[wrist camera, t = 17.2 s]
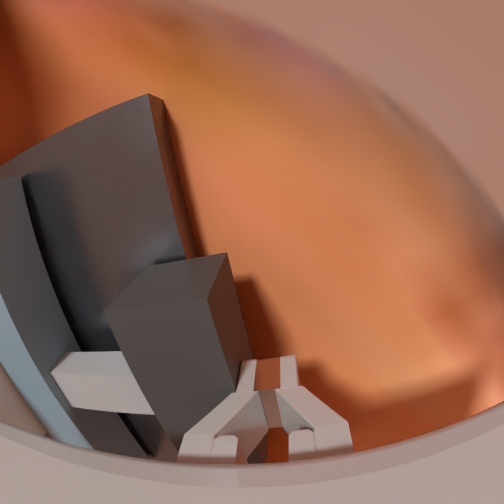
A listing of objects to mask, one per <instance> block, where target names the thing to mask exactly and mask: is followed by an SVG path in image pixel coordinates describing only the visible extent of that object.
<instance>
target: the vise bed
mask: <svg viewBox="0 0 504 504" xmlns="http://www.w3.org/2000/svg"><path fill="white" fill-rule="evenodd" d="M19 175H20V177H21V182H22V186H23V191H24V195H25V200H26V204H27V208H28V212H29V216H30V220H31V223H32V227H33V230H34V234H35V237H36V240H37V244H38V247H39V250H40V253H41V256H42V259H43V262H44V265H45V268H46V271H47V273H48V276H49V279H50V281H51V284H52V287H53V289H54V292H55V294H56V297H57V299H58V302H59V304H60V306H61V309H62V311H63V313H64V316H65V318H66V320H67V322H68V324H69V327H70V329H71V331H72V333H73V335H74V337H75V339H76V341H77V343H78V345H79V347H80V349H81V351H82V352H108V351H121V350H120V347H119V345H118V343H117V341H116V339H115V337H114V334H113V332H112V330H111V327H110V325H109V323H108V321H107V318H106V316H105V313H104V311H105V309H106V308H107V307H108V306H109V305H110V304H111V303H112V302H113V301H114V300H115V299H116V298H117V297H118V296H119V295H120V294H121V293H122V292H123V291H124V290H125V289H126V288H127V287H128V286H129V285H130V284H131V283H132V282H133V281H134V280H135V279H136V278H137V277H138V276H139V275H140V274H141V273H142V272H143V271H144V270H145V269H146V268H147V267H148V266H153V265H158V264H164V263H170V262H175V261H181V260H187V259H192V258H198V257H199V256H198V252H197V248H196V245H195V241H194V237H193V233H192V229H191V225H190V221H189V217H188V213H187V209H186V205H185V201H184V197H183V193H182V188H181V184H180V180H179V175H178V171H177V167H176V162H175V158H174V153H173V148H172V144H171V139H170V134H169V130H168V125H167V120H166V115H165V110H164V105H163V100H162V99H160V98H158V97H155V96H153V95H151V94H148V93H147V94H145V95H142V96H139V97H136V98H134V99H131V100H129V101H126V102H123V103H121V104H118V105H116V106H113V107H111V108H109V109H106V110H104V111H102V112H99V113H97V114H95V115H93V116H90V117H88V118H86V119H84V120H82V121H80V122H78V123H75V124H73V125H71V126H69V127H67V128H65V129H63V130H61V131H59V132H58V133H56V134H54V135H52V136H50V137H48V138H46V139H44V140H43V141H41V142H39V143H37V144H36V145H34V146H32V147H30V148H29V149H27V150H25V151H24V152H22V153H20V154H19V155H17V156H15V157H14V158H12V159H11V160H9V161H7V162H6V163H4V164H3V165H1V166H0V179H5V178H10V177H14V176H19ZM117 413H118V415H119V417H120V418H121V420H122V421H123V423H124V424H125V425H126V427H127V428H128V430H129V431H130V433H131V434H132V436H133V437H134V438H135V440H136V441H137V442H138V444H139V445H140V447H141V448H142V449H143V451H144V452H145V453H146V454H147V456H148V457H149V458H150V460H159V461H169V462H176V460H177V456H178V453H179V452H178V451H177V449H176V448H175V446H174V445H173V443H172V442H171V440H170V438H169V437H168V435H167V434H166V432H165V431H164V429H163V427H162V426H161V424H160V422H159V421H158V419H157V417H156V416H155V415H152V414H134V413H120V412H117ZM44 437H47V438H51V439H53V438H52V436H51V435H50V434H49V433H48V431H47V432H46V433H45V435H44Z"/></svg>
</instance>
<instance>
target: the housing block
mask: <svg viewBox="0 0 504 504" xmlns="http://www.w3.org/2000/svg"><path fill="white" fill-rule="evenodd" d="M0 420H1V421H3V422H5V423H8V424H10V425H13V426H16V427H18V428H21V429H24V430H26V431H29V432H32V433H35V434H38V435H41V436H44V435H45V433H46V432H47V430H46V429H45V428H44V426H43V425H42V424H41V422H40V421H39V420H38V419H37V417H36V416H35V414H34V413H33V412H32V410H31V409H30V408H29V406H28V405H27V403H26V402H25V400H24V399H23V397H22V396H21V395H20V393H19V391H18V390H17V388H16V387H15V385H14V384H13V382H12V381H11V379H10V377H9V376H8V374H7V372H6V371H5V369H4V367H3V366H2V364H1V362H0Z"/></svg>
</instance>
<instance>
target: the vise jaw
mask: <svg viewBox="0 0 504 504" xmlns="http://www.w3.org/2000/svg"><path fill="white" fill-rule="evenodd" d="M104 313H105V316H106V318H107V321H108V323H109V325H110V327H111V330H112V332H113V334H114V337H115V339H116V341H117V343H118V345H119V347H120V350H121V351H108V352H82V351H81V349H80V347H79V345H78V343H77V341H76V339H75V337H74V335H73V333H72V331H71V329H70V327H69V324H68V322H67V320H66V318H65V316H64V313H63V311H62V309H61V306H60V304H59V302H58V299H57V297H56V294H55V292H54V289H53V287H52V284H51V281H50V279H49V276H48V273H47V271H46V268H45V265H44V262H43V259H42V256H41V253H40V250H39V247H38V244H37V240H36V237H35V234H34V230H33V227H32V223H31V220H30V216H29V212H28V208H27V204H26V200H25V195H24V191H23V186H22V182H21V177H20V175H19V176H14V177H10V178H5V179H0V362H1V364H2V366H3V367H4V369H5V371H6V372H7V374H8V376H9V377H10V379H11V381H12V382H13V384H14V385H15V387H16V388H17V390H18V391H19V393H20V395H21V396H22V397H23V399H24V400H25V402H26V403H27V405H28V406H29V408H30V409H31V410H32V412H33V413H34V414H35V416H36V417H37V419H38V420H39V421H40V422H41V424H42V425H43V426H44V428H45V429H46V430H47V431H48V433H49V434H50V435H51V436H52V438H53V439H54V440H57V441H61V442H64V443H68V444H72V445H76V446H80V447H84V448H88V449H93V450H97V451H102V452H107V453H112V454H117V455H123V456H129V457H136V458H143V459H150V458H149V457H148V456H147V454H146V453H145V452H144V451H143V449H142V448H141V447H140V445H139V444H138V442H137V441H136V440H135V438H134V437H133V436H132V434H131V433H130V431H129V430H128V428H127V427H126V425H125V424H124V423H123V421H122V420H121V418H120V417H119V415H118V413H117V412H120V413H134V414H152V415H155V416H156V417H157V419H158V421H159V422H160V424H161V426H162V427H163V429H164V431H165V432H166V434H167V435H168V437H169V438H170V440H171V442H172V443H173V445H174V446H175V448H176V449H177V451H178V452H179V450H180V447H181V444H182V440H183V437H184V434H185V433H186V432H188V431H189V430H190V429H191V428H192V427H194V426H195V425H196V424H197V423H198V422H199V421H201V420H202V419H203V418H204V417H205V416H206V415H208V414H209V413H210V412H211V411H212V410H213V409H214V408H216V407H217V406H218V405H219V404H220V403H221V402H222V401H223V400H225V399H226V398H227V397H228V396H229V395H230V394H231V393H236V390H237V384H238V379H239V373H240V367H241V362H242V361H243V360H252V359H254V358H253V355H252V351H251V347H250V343H249V339H248V335H247V331H246V327H245V324H244V320H243V316H242V312H241V308H240V304H239V300H238V296H237V292H236V288H235V283H234V279H233V275H232V271H231V267H230V263H229V259H228V255H227V252H226V253H220V254H215V255H209V256H203V257H198V258H192V259H187V260H181V261H175V262H170V263H164V264H158V265H153V266H148V267H147V268H146V269H145V270H144V271H143V272H142V273H141V274H140V275H139V276H138V277H137V278H136V279H135V280H134V281H133V282H132V283H131V284H130V285H129V286H128V287H127V288H126V289H125V290H124V291H123V292H122V293H121V294H120V295H119V296H118V297H117V298H116V299H115V300H114V301H113V302H112V303H111V304H110V305H109V306H108V307H107V308H106V309H105V311H104ZM267 441H268V431H267V433H266V434H265V435H264V437H263V438H262V439H261V441H260V442H259V443H258V445H257V446H256V447H255V449H254V450H253V451H252V453H251V454H250V455H249V457H248V458H247V462H248V464H259V463H267Z"/></svg>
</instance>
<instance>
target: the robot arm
mask: <svg viewBox="0 0 504 504" xmlns="http://www.w3.org/2000/svg"><path fill="white" fill-rule="evenodd" d="M275 427H283V428H284V429H285V431H286V432H287V433H288V434H289V458H288V462H276V463H259V464H248V462H247V458H248V457H249V455H250V454H251V453H252V451H253V450H254V449H255V447H256V446H257V445H258V443H259V442H260V441H261V439H262V438H263V437H264V435H265V434H266V433H267V431H268V430H269V429H268V428H275ZM0 504H504V401H503V402H501V403H499V404H497V405H495V406H493V407H490V408H488V409H486V410H484V411H482V412H480V413H477V414H475V415H473V416H470V417H468V418H465V419H463V420H461V421H458V422H456V423H453V424H450V425H448V426H445V427H442V428H439V429H437V430H434V431H431V432H428V433H425V434H422V435H419V436H415V437H412V438H409V439H405V440H402V441H398V442H395V443H391V444H387V445H383V446H379V447H375V448H370V449H366V450H361V451H356V452H354V448H353V443H352V439H351V434H350V429H349V424H348V422H347V421H346V420H345V419H344V418H342V417H341V416H340V415H338V414H337V413H336V412H335V411H333V410H332V409H331V408H330V407H328V406H327V405H326V404H325V403H323V402H322V401H321V400H320V399H318V398H317V397H316V396H315V395H314V394H312V393H311V392H310V391H309V390H307V389H306V388H305V387H304V386H300V379H299V372H298V365H297V358H296V355H295V354H292V355H286V356H281V357H272V358H262V359H252V360H243V361H242V362H241V367H240V373H239V379H238V384H237V390H236V393H231V394H230V395H229V396H228V397H227V398H226V399H225V400H223V401H222V402H221V403H220V404H219V405H218V406H217V407H216V408H214V409H213V410H212V411H211V412H210V413H209V414H208V415H206V416H205V417H204V418H203V419H202V420H201V421H199V422H198V423H197V424H196V425H195V426H194V427H192V428H191V429H190V430H189V431H188V432H186V433H185V434H184V437H183V440H182V444H181V447H180V450H179V453H178V456H177V460H176V462H169V461H159V460H150V459H143V458H136V457H129V456H123V455H117V454H112V453H107V452H102V451H97V450H93V449H88V448H84V447H80V446H76V445H72V444H68V443H64V442H61V441H57V440H54V439H51V438H47V437H44V436H41V435H38V434H35V433H32V432H29V431H26V430H24V429H21V428H18V427H16V426H13V425H10V424H8V423H5V422H3V421H1V420H0Z"/></svg>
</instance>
